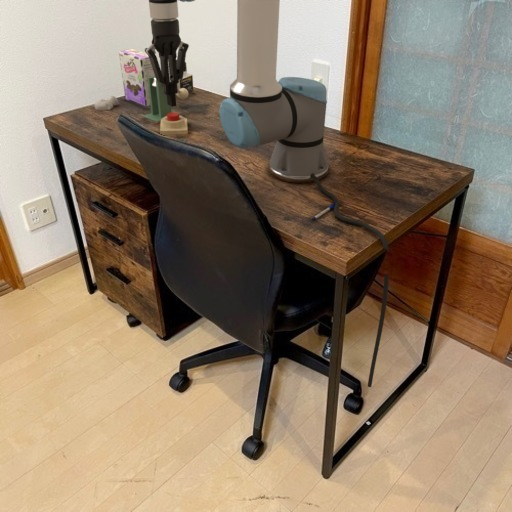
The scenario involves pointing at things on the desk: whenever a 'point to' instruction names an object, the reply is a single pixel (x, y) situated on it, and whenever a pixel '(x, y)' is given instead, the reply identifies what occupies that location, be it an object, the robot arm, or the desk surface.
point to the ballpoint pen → (325, 211)
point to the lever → (181, 92)
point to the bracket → (157, 101)
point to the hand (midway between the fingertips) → (171, 105)
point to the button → (173, 116)
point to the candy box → (136, 75)
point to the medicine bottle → (185, 81)
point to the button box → (173, 126)
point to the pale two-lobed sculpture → (106, 104)
